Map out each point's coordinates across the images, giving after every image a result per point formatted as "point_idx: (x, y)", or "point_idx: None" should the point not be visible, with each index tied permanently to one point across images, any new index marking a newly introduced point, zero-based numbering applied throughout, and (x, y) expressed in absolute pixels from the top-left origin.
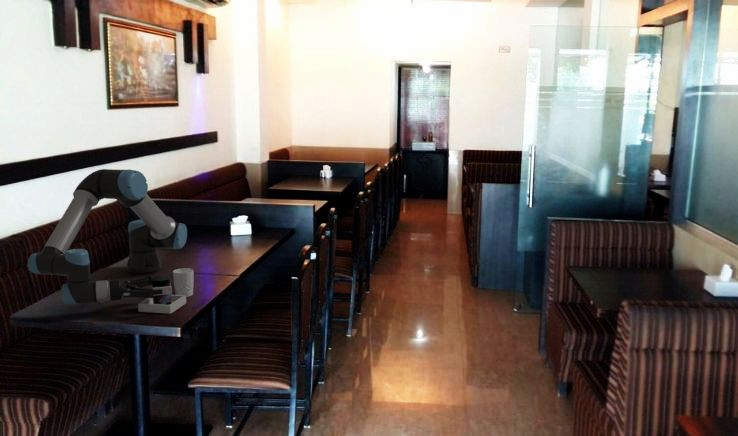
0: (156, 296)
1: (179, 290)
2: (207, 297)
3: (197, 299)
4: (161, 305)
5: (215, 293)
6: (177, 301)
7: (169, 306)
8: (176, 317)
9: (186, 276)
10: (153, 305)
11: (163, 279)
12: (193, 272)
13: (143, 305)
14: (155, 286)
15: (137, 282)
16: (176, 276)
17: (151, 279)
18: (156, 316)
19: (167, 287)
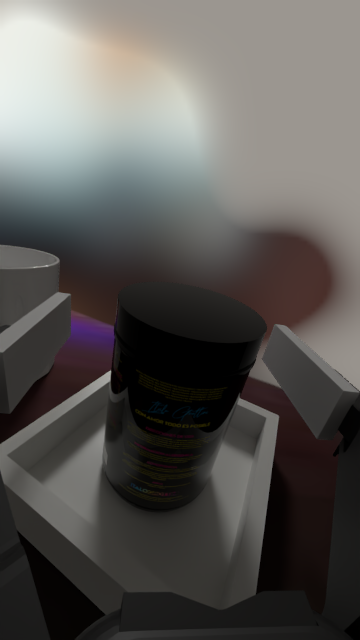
0: (223, 439)
1: None
2: (104, 334)
3: (109, 351)
4: (273, 451)
5: (78, 318)
6: None
7: (277, 421)
8: (309, 431)
9: (57, 278)
10: (267, 500)
11: (227, 305)
12: (36, 259)
13: None
14: (245, 378)
15: (21, 560)
16: (19, 288)
17: (214, 341)
18: (319, 518)
19: (296, 338)
